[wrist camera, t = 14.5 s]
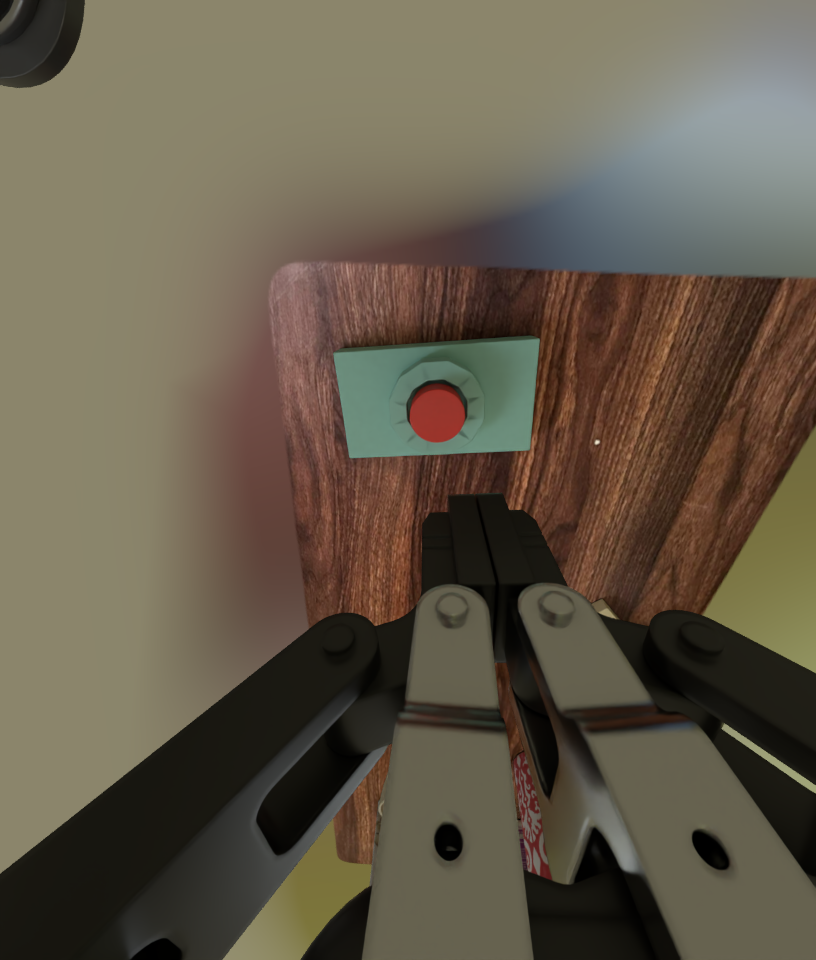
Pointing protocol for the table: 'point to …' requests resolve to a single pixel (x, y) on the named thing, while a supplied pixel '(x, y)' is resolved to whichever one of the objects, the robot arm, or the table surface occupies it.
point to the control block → (459, 364)
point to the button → (437, 413)
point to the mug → (530, 819)
